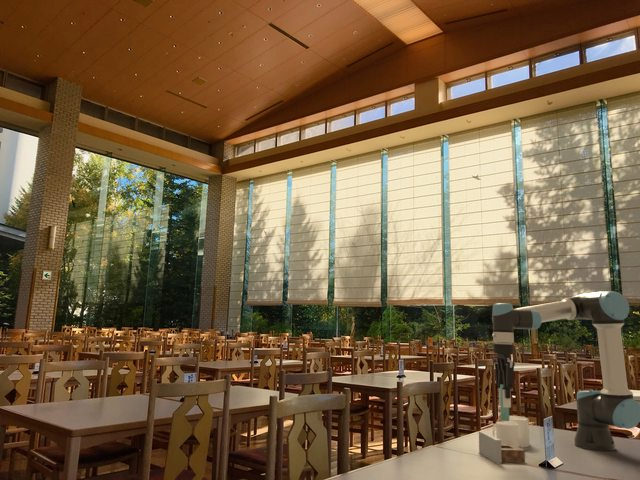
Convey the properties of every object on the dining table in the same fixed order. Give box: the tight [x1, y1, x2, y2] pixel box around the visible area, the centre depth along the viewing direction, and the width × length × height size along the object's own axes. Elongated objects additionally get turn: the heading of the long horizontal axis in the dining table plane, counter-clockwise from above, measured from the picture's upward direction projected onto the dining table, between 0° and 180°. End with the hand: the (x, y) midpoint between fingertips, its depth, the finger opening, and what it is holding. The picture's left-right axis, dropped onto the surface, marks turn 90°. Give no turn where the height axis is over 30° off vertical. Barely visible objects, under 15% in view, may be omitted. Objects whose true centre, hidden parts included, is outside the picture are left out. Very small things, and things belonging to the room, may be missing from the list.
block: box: [501, 444, 526, 463], centre depth 191 cm, size 10×10×4 cm
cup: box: [492, 420, 518, 447], centre depth 208 cm, size 8×12×10 cm
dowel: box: [500, 384, 510, 422], centre depth 194 cm, size 3×3×13 cm
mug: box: [503, 415, 531, 448], centre depth 219 cm, size 14×10×11 cm
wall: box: [478, 430, 503, 465], centre depth 191 cm, size 2×16×8 cm, turn 4°
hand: (504, 406), depth 194 cm, fingers closed on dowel, 3 cm apart
